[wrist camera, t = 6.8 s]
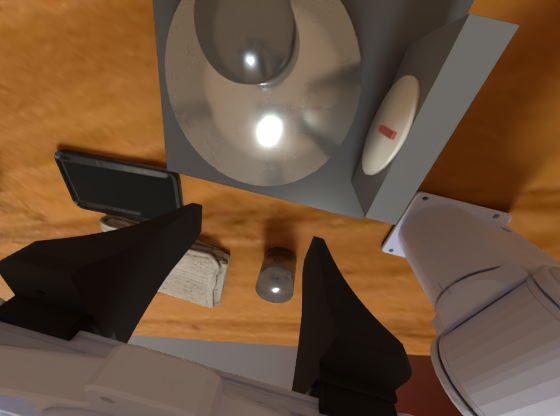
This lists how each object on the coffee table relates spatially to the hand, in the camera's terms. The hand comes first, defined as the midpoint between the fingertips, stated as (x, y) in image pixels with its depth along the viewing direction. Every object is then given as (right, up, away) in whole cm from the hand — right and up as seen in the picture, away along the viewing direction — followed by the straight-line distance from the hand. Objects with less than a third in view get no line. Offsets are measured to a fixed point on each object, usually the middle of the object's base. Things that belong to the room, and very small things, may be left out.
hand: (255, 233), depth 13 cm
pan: (0, +10, +3) cm, 10 cm away
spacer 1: (+1, +12, 0) cm, 12 cm away
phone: (-18, +4, +13) cm, 23 cm away
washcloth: (-15, -6, +19) cm, 25 cm away
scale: (+2, +11, +5) cm, 13 cm away
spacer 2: (+2, -5, +15) cm, 16 cm away
